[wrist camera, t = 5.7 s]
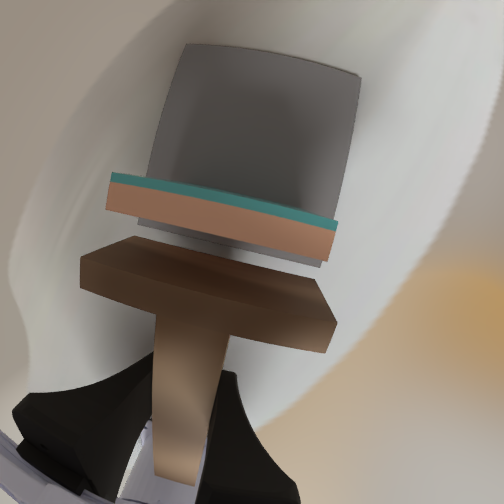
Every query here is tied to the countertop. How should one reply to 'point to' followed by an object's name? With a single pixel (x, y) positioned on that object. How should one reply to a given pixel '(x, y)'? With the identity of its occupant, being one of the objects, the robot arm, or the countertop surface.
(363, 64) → the countertop surface
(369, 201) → the countertop surface
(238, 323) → the wooden t-shaped piece
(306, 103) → the mat
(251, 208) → the tile
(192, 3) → the countertop surface
